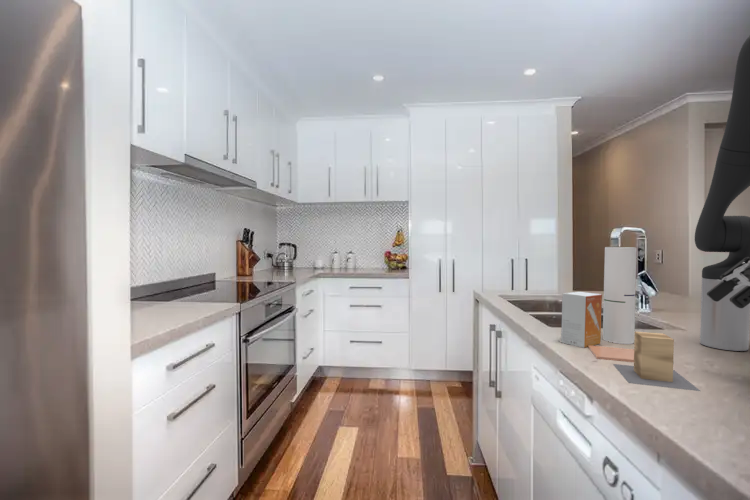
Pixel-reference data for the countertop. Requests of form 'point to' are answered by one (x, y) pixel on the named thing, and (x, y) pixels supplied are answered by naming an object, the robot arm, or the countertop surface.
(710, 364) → the countertop surface
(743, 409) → the countertop surface
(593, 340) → the small box
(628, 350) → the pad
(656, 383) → the mat
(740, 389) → the countertop surface
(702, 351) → the countertop surface
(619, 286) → the cylindrical container
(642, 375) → the maple block
